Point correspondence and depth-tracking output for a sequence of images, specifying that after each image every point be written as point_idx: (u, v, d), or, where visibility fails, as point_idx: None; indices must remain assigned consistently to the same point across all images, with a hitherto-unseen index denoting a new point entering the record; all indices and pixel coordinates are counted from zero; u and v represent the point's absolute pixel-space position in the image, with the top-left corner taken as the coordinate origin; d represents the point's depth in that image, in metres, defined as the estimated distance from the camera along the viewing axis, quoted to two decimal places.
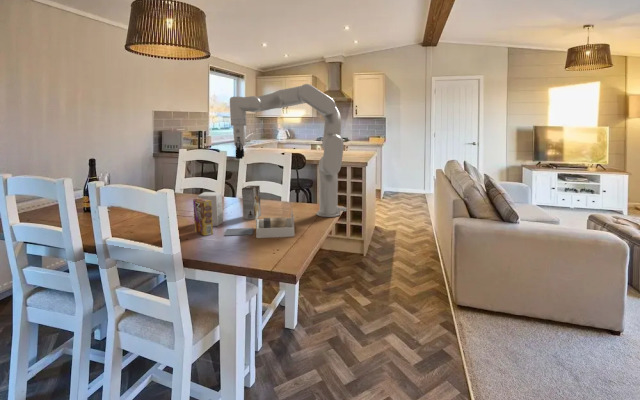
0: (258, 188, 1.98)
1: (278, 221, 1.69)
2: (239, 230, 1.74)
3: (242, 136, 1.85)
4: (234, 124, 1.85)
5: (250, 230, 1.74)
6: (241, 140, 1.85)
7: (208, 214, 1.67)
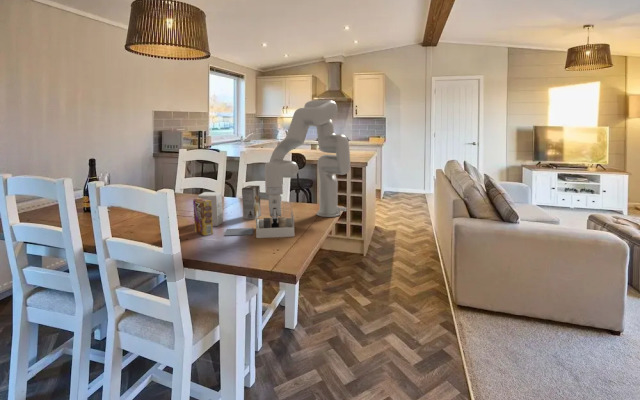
0: (258, 188, 1.98)
1: (278, 221, 1.69)
2: (239, 230, 1.74)
3: (279, 207, 1.66)
4: (270, 193, 1.66)
5: (250, 230, 1.74)
6: (277, 211, 1.66)
7: (208, 214, 1.67)
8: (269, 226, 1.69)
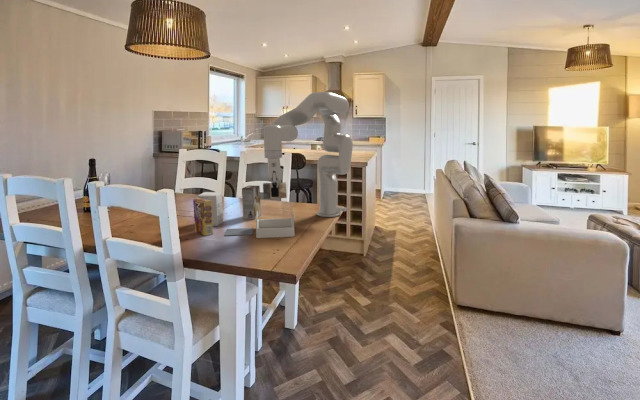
0: (258, 188, 1.98)
1: None
2: (239, 230, 1.74)
3: (278, 170, 1.63)
4: (269, 157, 1.62)
5: (250, 230, 1.74)
6: (277, 174, 1.63)
7: (208, 214, 1.67)
8: (269, 191, 1.66)
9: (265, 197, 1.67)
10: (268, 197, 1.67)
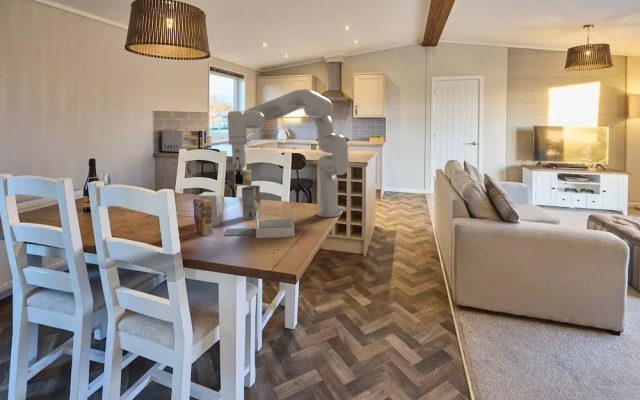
0: (258, 188, 1.98)
1: (242, 172, 1.64)
2: (239, 230, 1.74)
3: (242, 157, 1.61)
4: (233, 143, 1.61)
5: (250, 230, 1.74)
6: (240, 161, 1.61)
7: (208, 214, 1.67)
8: (233, 178, 1.64)
9: (229, 184, 1.65)
10: (232, 184, 1.65)
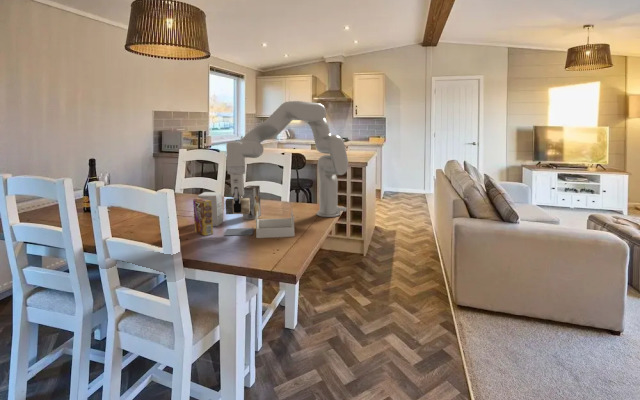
0: (258, 188, 1.98)
1: (240, 201, 1.67)
2: (239, 230, 1.74)
3: (240, 186, 1.63)
4: (231, 173, 1.63)
5: (250, 230, 1.74)
6: (239, 190, 1.63)
7: (208, 214, 1.67)
8: (231, 206, 1.67)
9: (227, 212, 1.67)
10: (230, 213, 1.67)
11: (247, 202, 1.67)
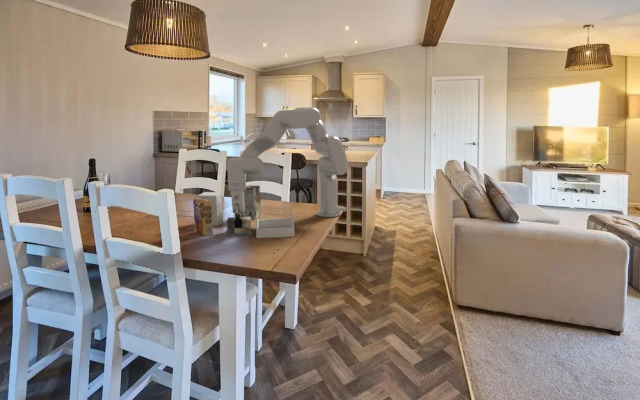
0: (258, 188, 1.98)
1: None
2: None
3: (241, 203, 1.65)
4: (232, 189, 1.65)
5: None
6: (240, 207, 1.65)
7: (208, 214, 1.67)
8: (233, 226, 1.69)
9: (229, 232, 1.69)
10: (232, 232, 1.69)
11: (248, 221, 1.69)
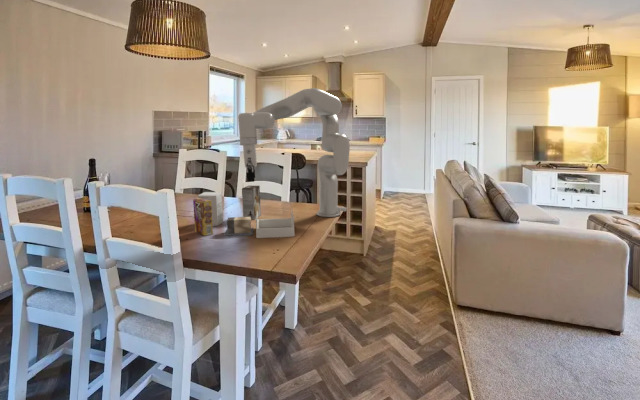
0: (258, 188, 1.98)
1: (241, 220, 1.69)
2: None
3: (253, 157, 1.67)
4: (244, 144, 1.66)
5: None
6: (252, 161, 1.67)
7: (208, 214, 1.67)
8: (233, 226, 1.69)
9: (229, 232, 1.69)
10: (232, 232, 1.69)
11: (248, 221, 1.69)
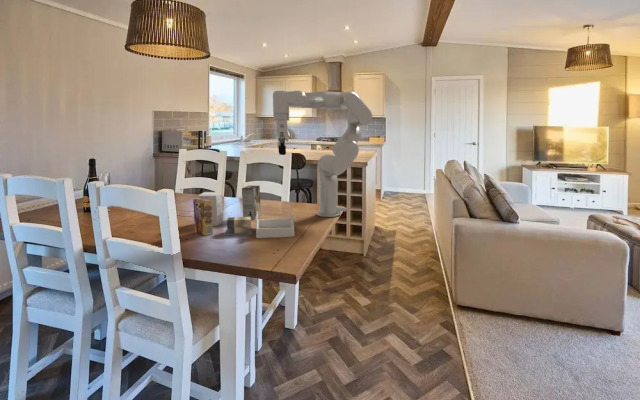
0: (258, 188, 1.98)
1: (241, 220, 1.69)
2: None
3: (286, 131, 1.80)
4: (278, 119, 1.80)
5: None
6: (284, 135, 1.80)
7: (208, 214, 1.67)
8: (233, 226, 1.69)
9: (229, 232, 1.69)
10: (232, 232, 1.69)
11: (248, 221, 1.69)
